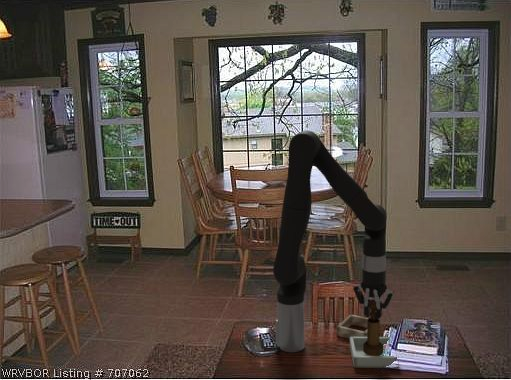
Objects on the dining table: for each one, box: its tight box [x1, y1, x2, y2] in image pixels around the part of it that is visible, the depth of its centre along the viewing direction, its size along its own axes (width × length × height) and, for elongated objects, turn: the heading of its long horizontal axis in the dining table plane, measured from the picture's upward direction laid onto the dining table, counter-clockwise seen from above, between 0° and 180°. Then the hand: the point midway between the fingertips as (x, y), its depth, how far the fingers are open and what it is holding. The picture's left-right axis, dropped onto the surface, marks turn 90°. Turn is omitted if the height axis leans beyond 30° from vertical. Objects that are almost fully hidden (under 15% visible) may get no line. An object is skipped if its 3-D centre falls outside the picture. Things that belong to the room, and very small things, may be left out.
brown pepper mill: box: [363, 299, 383, 356], centre depth 172 cm, size 7×6×18 cm
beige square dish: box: [336, 314, 370, 340], centre depth 191 cm, size 11×12×4 cm
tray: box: [349, 336, 397, 369], centre depth 174 cm, size 14×14×4 cm
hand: (373, 317), depth 172 cm, fingers closed on brown pepper mill, 2 cm apart
